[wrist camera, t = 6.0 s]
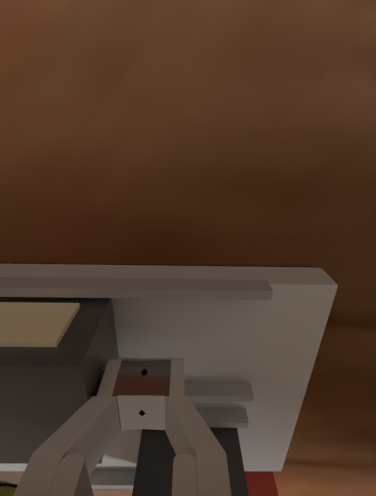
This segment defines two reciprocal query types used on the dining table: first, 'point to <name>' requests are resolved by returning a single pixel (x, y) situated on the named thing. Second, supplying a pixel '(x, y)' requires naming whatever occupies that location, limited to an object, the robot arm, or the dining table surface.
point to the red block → (261, 483)
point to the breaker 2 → (162, 454)
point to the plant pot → (7, 490)
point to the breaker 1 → (49, 366)
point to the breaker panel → (204, 343)
